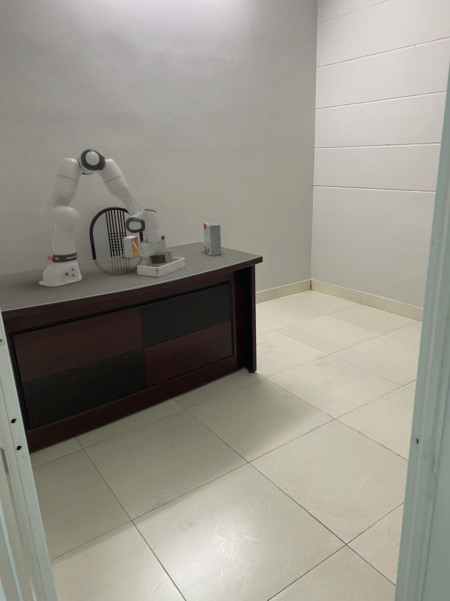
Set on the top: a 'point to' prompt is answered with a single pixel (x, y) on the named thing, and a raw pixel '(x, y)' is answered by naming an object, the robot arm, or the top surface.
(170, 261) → the digital clock
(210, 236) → the hard drive box
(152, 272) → the bin
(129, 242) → the small box
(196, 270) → the top surface
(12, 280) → the top surface
